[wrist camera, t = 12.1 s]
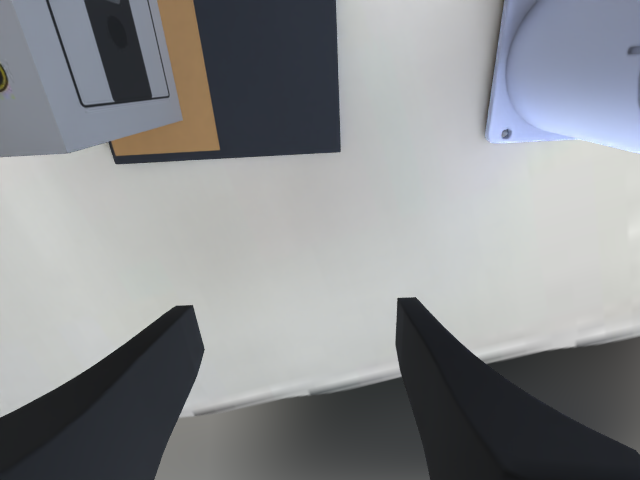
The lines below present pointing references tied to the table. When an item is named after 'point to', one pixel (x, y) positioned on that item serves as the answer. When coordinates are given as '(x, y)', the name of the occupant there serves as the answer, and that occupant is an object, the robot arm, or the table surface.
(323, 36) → the desk mat
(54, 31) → the cassette player
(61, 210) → the table surface
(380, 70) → the table surface
